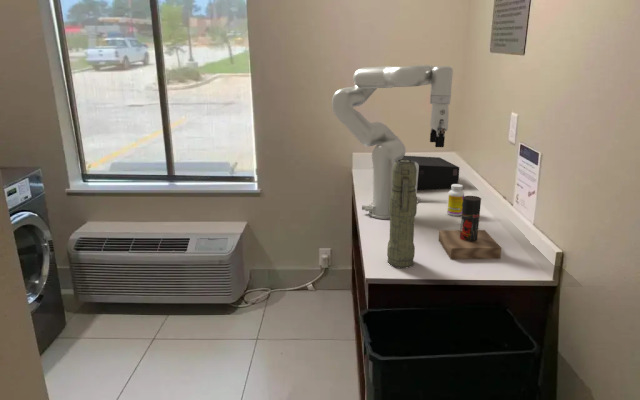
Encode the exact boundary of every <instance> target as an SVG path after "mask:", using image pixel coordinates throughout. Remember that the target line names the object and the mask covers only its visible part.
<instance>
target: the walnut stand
mask: <svg viewBox="0 0 640 400" xmlns="http://www.w3.org/2000/svg"><path fill="white" fill-rule="evenodd" d="M460 230H461V229H459V230H458V229H452V230H450V229H447V230H446V229H445V230H439V231H438V242H439V243H440V245H441V247H442V248H443V250H444V252H445V253H446V254H447V256H448V257H449V259H450V260H477V259H478V260H480V259H481V260H486V259H487V260H488V259H489V260H491V259H496V260H497V259H498V260H500V259H501V255H502V247H501V245H499V244H498V242H497V241H496V240H495V239H494V238H493V237H492V236H491V235H490V234H489V232H488V231H486V229H478V236H477V240H476V241H473V242H469V241H464V240H461V239H460Z"/></svg>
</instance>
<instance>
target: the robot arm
mask: <svg viewBox="0 0 640 400" xmlns="http://www.w3.org/2000/svg"><path fill="white" fill-rule="evenodd" d="M453 76H454V69H453V67H452V66H450V65H449V66H446V65H429V64H419V65H408V66H407V65H406V66H392V65H381V66H367V67H360V68H358V69H357V70H356V71H355V72H353V78H352V79H353V83H354V86H350V87H349V86H348V87H344V88H343V87H342V88H340V89H338V90H337V91H335V92H334V93H333V96H332V98H331V109H332V112H333V113H334V116H335V118H336V119H338V121H339V122H340V123H341V124H343V126H345V127H346V129H348V131H349V132H350V133H351V134H352V135H353V136H354V137H355V138H356V140H357V141H358V142H359V143H360V144H361V145H363V146H364V147H366V148H367V147H369V148H370V147H373V146H375V147H373V150H372V152H371V160H372V161H371V162H372V169H373V172H372V173H373V175H372V177H373V178H372V179H373V181H372V184H373V185H372V187H373V188H372V202H371V204H369V205H366V204H365V205H363V204H362V205H361V210H362V211H365V212H368V215H369V216H370V217H371V218H375V219H382V220H388V219H389V220H390V213H389V198H390V195H391V192H392V170H393V167H394V162H395V161H398V160H399V159H402V158H403V157H404V156H406V153H407V151H406V146H405V144H404V142H403V141H402V140H401V139H400V137H398V136H397V135H396V134H395V133H394V132H393V131H392V129H390V127H388V126H387V125H386V124H385V123H383V122H381V121H375V122H371V121H369V120H368V119H367V118H366V117H365V116H364V115H363V114H362V113H361V112H359V111H358V110H357V109H356V108H355V107H360V106H363V104H365V102H367V100H368V99H369V98H370V97H371V96H372V95H373V94H374V92H375V91H376V90H377V89H391V88H407V87H408V88H409V87H420V86H428V85H429V86H430V98H429V104H431V112H430V127H431V128H430V132H429V133H430V134H429V135H430V136H429V142H430V143H435V145H434V147H435V148H444V147H445V137H446V134H445V133H446V132H447V131H449V105H451V98H452V96H451V95H452V87H453V86H452V84H453Z"/></svg>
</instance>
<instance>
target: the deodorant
mask: <svg viewBox="0 0 640 400" xmlns="http://www.w3.org/2000/svg"><path fill="white" fill-rule="evenodd" d="M481 204H482V197H479V196H477V195H464V197H463V207H462V215H461V221H460V222H461V223H460V229H459V230H460V239H461V240H464V241H469V242H473V241H476V240H477V236H478V230H479V224H480V216H481V215H480V214H481V206H482V205H481Z"/></svg>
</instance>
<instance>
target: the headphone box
mask: <svg viewBox="0 0 640 400" xmlns="http://www.w3.org/2000/svg"><path fill="white" fill-rule="evenodd" d="M402 159H409V160H412V161H414V162H417V163H418V165H419V172H418V183H417V192H420V191H432V190H433V191H437V189H438V190H452V189H451V185H452V184H459V180H460V178H459V176H460V166H458V165H456V164H453V163H451V162H449V161H447V160H446V159H443V158H441V157H436V156H422V155H421V156H417V155H404V157H403V158H402Z"/></svg>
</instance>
